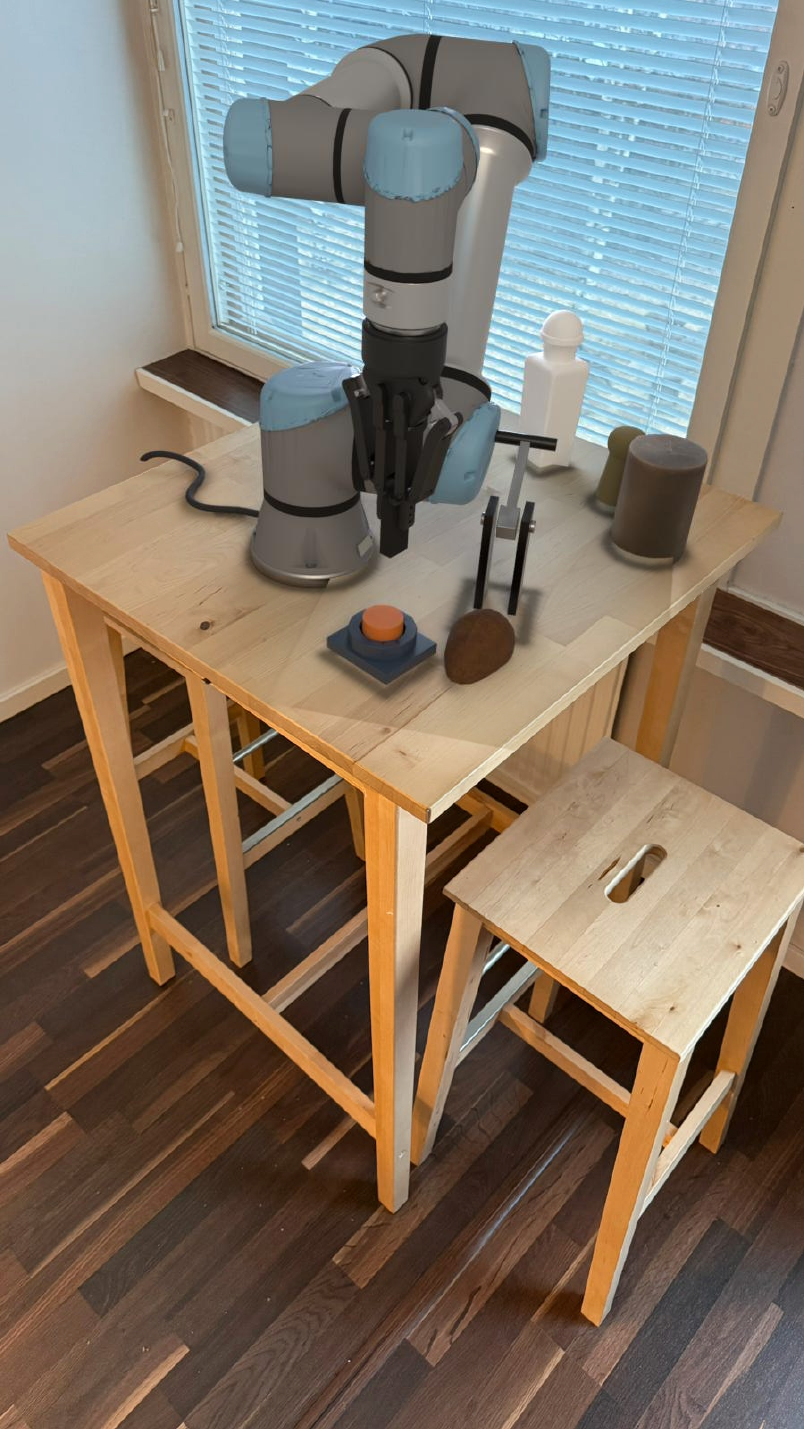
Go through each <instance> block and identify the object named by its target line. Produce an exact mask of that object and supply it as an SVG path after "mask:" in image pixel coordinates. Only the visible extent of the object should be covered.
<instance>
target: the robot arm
mask: <svg viewBox="0 0 804 1429" xmlns="http://www.w3.org/2000/svg"><path fill="white" fill-rule="evenodd" d="M551 65H552V63H551V57H550V54H549V53H548V51H547V50H546V49H545V48H544V47H543V46H540V45H536V44H530V43H522V42H519V41H518V40H516V39H512V40H511V41H510V42H507V41H497V40H488V39H479V38H468V37H462V36H461V37H459V36H451V35H439V34H432V33H411V34H402V35H395V36H393V37H389V38H385V39H380V40H377V41H374V42H372V43H369V44H366V45H363V46H361V47H358V48H357V49H354V50H352V51H350V52H348V53H347V54H346V55H345V56H343V57H342V58H341V59H340V60H339V61H338V62H337V64H336V65H335V67H334V68H333V70H332V72H331V74H330V75H329V76H327V77H326V78H324V79H322V80H319V82H316V83H314V84H312V85H311V86H309V87H307V88H306V89H304V90H302V91H299V93H296V94H295V95H293V96H290V97H289V98H287V99H285V100H275V99H268V98H267V97H265V96H261V97H259V98H249V97H248V98H247V97H241V98H237V99H236V100H234V101H233V102H232V103H231V105H230V106H229V108H228V110H227V113H226V116H225V119H224V124H223V134H222V155H223V163H224V169H225V172H226V176H227V179H228V181H229V183H230V184H231V186H232V187H234V189H236V190H237V191H239V192H242V193H247V194H254V195H258V196H263V197H264V198H266V199H271V197H273V198H282V199H291V200H292V199H293V200H301V201H302V200H303V201H311V202H321V203H331V204H340V205H347V206H354V207H363V208H364V231H363V232H364V233H363V234H364V237H363V242H364V243H363V274H362V275H363V277H362V279H363V280H362V282H363V284H362V313H363V315H364V316H365V317H364V319H363V320H362V321H361V345H360V347H361V349H360V350H361V352H360V357H361V361H362V363H363V364H364V365H363V367H362V370H361V369H360V368H359V367H356V366H352V365H351V364H350V363H348V362H343V361H337V360H319V361H310V362H304V363H299V364H295V365H292V366H290V367H286V368H284V369H282V370H279V371H278V372H276V373H274V374H273V375H272V376H270V377H269V378H268V379H267V380H266V382H265V383H264V385H263V386H262V388H261V391H260V397H259V398H260V399H259V403H260V404H259V413H260V414H259V417H258V427H259V432H260V433H259V434H260V448H261V449H260V450H261V451H260V452H261V469H262V470H261V472H262V490H263V492H262V493H263V500H262V502H261V505H260V509H259V510H257V509H253V508H250V507H249V508H248V507H244V506H243V507H242V506H235V505H234V506H232V505H215V504H207V503H203V502H200V501H198V500H196V499H195V498H194V497H193V496H194V494H195V492H196V490H198V488H199V487H200V486H201V485H202V484H203V482H204V481H205V478H206V470H205V468H204V467H203V465H201V464H200V463H199V462H198V461H195V460H194V459H193V458H191V457H188V456H186V455H183V454H180V453H177V452H173V451H169V450H151V451H148V452H146V453H143V455H141V457H140V458H139V461H140V462H148V461H149V460H151V459H155V458H165V459H169V460H174V461H178V462H181V463H183V464H185V465H187V466H189V467H191V468H192V469H194V470H195V471H196V472H198V475H197V476H196V478H195V479H194V480H193V481H192V482H191V483H190V485H189V486H188V488H187V489H186V491H185V496H184V497H185V501H186V502H187V503H188V504H189V505H190V506H191V507H192V508H194V509H197V510H199V511H203V512H208V513H218V514H234V515H235V514H236V515H243V516H249V517H251V518H252V517H253V518H257V521H256V524H255V526H254V528H253V530H252V533H251V537H250V556H251V560H252V563H253V564H254V566H255V567H256V569H258V571H259V572H261V574H263V575H265V577H268V578H270V579H272V580H274V581H275V582H279V583H282V584H285V585H289V586H293V587H299V588H300V587H301V588H326V587H327V586H328V584H329V582H330V581H331V579H334V578H339V577H343V576H347V575H350V574H351V573H354V572H356V571H358V570H359V569H361V568H362V567H363V566H365V565H366V564H367V563H368V562H369V561H370V560H371V558H372V557H373V553H374V550H375V538H374V536H373V532H372V529H371V528H370V524H369V520H368V516H367V514H366V511H365V508H364V505H363V502H362V493H365V494H366V493H367V494H372V495H373V494H374V495H376V510H375V512H376V518H377V519H378V520H380V528H379V530H380V531H379V554H381V555H383V556H384V557H386V558H388V559H393V558H394V557H396V556H398V555H399V554H402V553H403V552H404V551H406V550H408V549H409V536H410V528H411V527H413V526H414V524H415V520H416V505H417V504H419V503H421V502H427V503H429V504H430V505H438V504H444V505H455V506H464V505H467V504H470V503H471V502H473V501H474V500H475V499H476V497H477V496H478V495H479V492H480V491H481V488H482V486H483V484H484V481H485V479H486V477H487V473H488V470H489V467H490V465H491V461H492V458H493V453H494V450H495V447H496V443H495V435H496V431H497V430H500V423H501V417H502V416H501V414H502V410H501V406H500V405H499V404H498V403H495V401H492V400H491V399H492V394H493V390H492V386H491V384H490V383H489V381H488V380H487V379H486V377H485V376H484V375H483V368H484V364H485V357H486V352H487V346H488V341H489V334H490V330H491V324H492V317H493V312H494V306H495V301H496V295H497V289H498V284H499V278H500V273H501V272H500V271H501V266H502V261H503V257H504V256H503V255H504V249H505V244H506V238H507V234H508V228H509V227H508V226H509V221H510V217H511V216H510V215H511V210H512V206H513V198H514V193H515V188H517V187H519V186H520V185H522V184H523V183H524V182H526V180H527V179H528V178H529V176H530V174H531V171H532V168H533V167H532V166H533V164H538V163H542V162H544V161H545V160H546V159H547V155H548V140H549V120H550V119H549V118H550V100H551V99H550V98H551V75H552V74H551V72H552V70H551V68H552V66H551Z"/></svg>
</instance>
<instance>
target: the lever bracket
mask: <svg viewBox="0 0 804 1429" xmlns="http://www.w3.org/2000/svg"><path fill="white" fill-rule="evenodd" d="M499 503H500V496H497V495H490V496H489V499H488V502H487V505H486V508H485V511H482V512H481V516H480V521H479V524H480V526H482V531H481V539H480V540H481V541H480V546H479V547H480V548H479V556H478V565H477V572H476V582H475V590H474V598H473V607H472V608H473V609H474V610H476V609H483V606H484V603H485V600H486V597H487V593H488V590H489V582H490V575H491V567H492V559H493V550H494V543H495V537H496V525H497V520H498V513H499V505H500V504H499ZM535 507H536V502H535V501H529V500H526V501H525V504H524V508H523V511H522V515H521V517H520V522H519V531H518V536H517V544H516V552H515V557H514V565H513V572H512V579H511V585H510V591H509V599H508V606H507V613H506V614H507V615H509V616H513V617H516V616H517V613H518V608H519V605H520V600H521V596H522V590H523V583H524V578H525V573H526V572H525V571H526V565H527V559H528V552H529V544H530V539H531V534H534V533H535V531H536V525H537V521H536V519H535V520H533V519H534V513H535Z"/></svg>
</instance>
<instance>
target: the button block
mask: <svg viewBox="0 0 804 1429" xmlns="http://www.w3.org/2000/svg"><path fill="white" fill-rule="evenodd" d="M366 609H367V608H363V609H362V610H361V611H359V612H357V613H355V614H354V615H352V616H351V618H350V619H349V622H348V624H347V625H346V626H344V627H343V628H340V629H339V630H337V631H335V632H334V633H332V634H330V635H328V636H327V637H326V648H328V649H329V650H330V651H331V652H334V653H335V654H337V655H338V656H340V657H341V658H343V659H344V660H345V661H347V662H349V663H350V664H352V665H354V666H355V667H357V668H358V669H359V670H361V671H362V672H364V673H365V674H368V675H369V676H370V677H372V678H374V679H375V680H377V681H378V682H380V683H382V684H383V685H385V686H387V685H389V684H391V683H392V682H394V681H395V680H397V679H398V678H400V677H402V676H403V675H404V674H406V673H407V672H409V671H411V670H412V669H413V668H415V667H417V666H418V665H420V664H422V663H423V662H425V661H426V660H428V659H429V658H431V657H433V656H435V655H436V654H437V647H438V643H437V642H435V641H434V640H432V639H430V638H429V637H427V636H425V635H424V634H422V633H420V631H418V626H417V624H416V622H415V620H414V618H413V617H412V616H411V615H409V614H408V613H406V612H404V611H403V610H401V609H399V610H400V611H401V612H402V614H403V617H404V620H403V632H402V635H401V636H400V637H399V638H397V639H396V640H390V641H383V642H382V641H376V640H371V639H370V638H368V637H366V636H365V635H364V633H363V631H362V616H363V613H364V611H365V610H366Z"/></svg>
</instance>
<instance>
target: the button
mask: <svg viewBox="0 0 804 1429" xmlns="http://www.w3.org/2000/svg"><path fill="white" fill-rule="evenodd" d="M365 609H366V610H365V611H364V613H363V616H362V631H363V633H364V635H365V636H366V637H368V638H370V639H371V640H376V641H382V642H383V641H390V640H396V639H397V638H399V637H400V636H401V635H402V632H403V620H404V617H403V614H402V612H403V611H402V610H401V609H399V608H397V607H394V606H392V605H387V604H376V605H372V606H369V607H368V608H365ZM400 610H401V611H402V612H401V611H400Z"/></svg>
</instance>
